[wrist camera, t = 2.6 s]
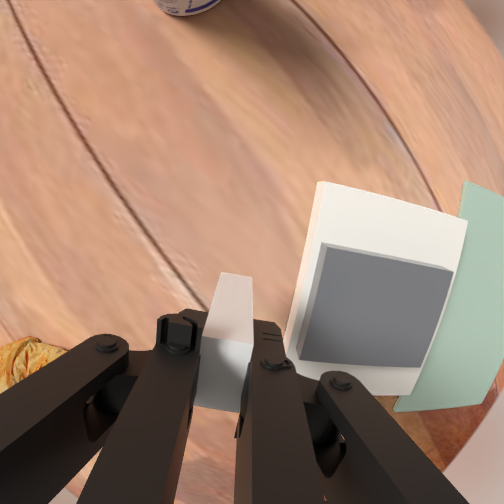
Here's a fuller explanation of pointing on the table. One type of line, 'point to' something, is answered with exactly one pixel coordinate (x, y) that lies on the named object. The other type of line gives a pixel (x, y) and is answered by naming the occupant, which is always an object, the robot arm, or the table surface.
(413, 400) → the mat
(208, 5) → the energy drink
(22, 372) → the croissant
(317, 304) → the slate tile
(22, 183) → the table surface
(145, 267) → the table surface
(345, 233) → the board
